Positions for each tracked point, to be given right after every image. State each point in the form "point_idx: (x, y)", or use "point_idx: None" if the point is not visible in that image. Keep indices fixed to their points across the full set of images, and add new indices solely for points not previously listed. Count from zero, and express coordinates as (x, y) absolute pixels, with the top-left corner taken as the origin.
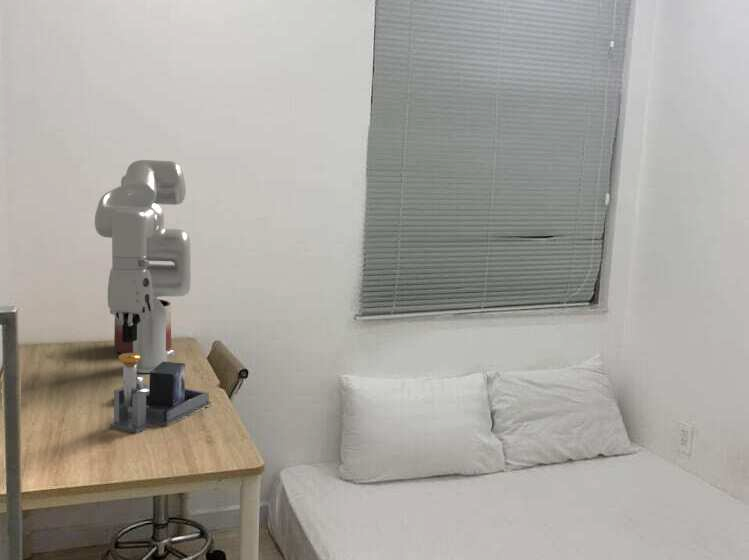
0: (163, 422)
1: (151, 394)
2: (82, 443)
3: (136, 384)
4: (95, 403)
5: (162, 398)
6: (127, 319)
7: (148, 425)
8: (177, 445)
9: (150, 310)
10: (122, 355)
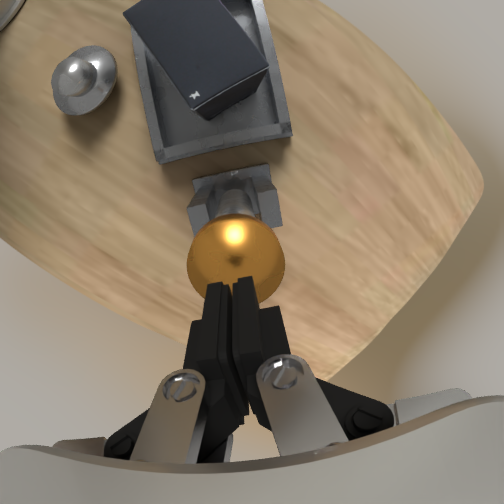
0: (281, 137)
1: (208, 114)
2: None
3: (251, 210)
4: (64, 162)
5: (236, 98)
6: (211, 427)
7: (269, 171)
8: (377, 197)
9: (483, 406)
10: None
